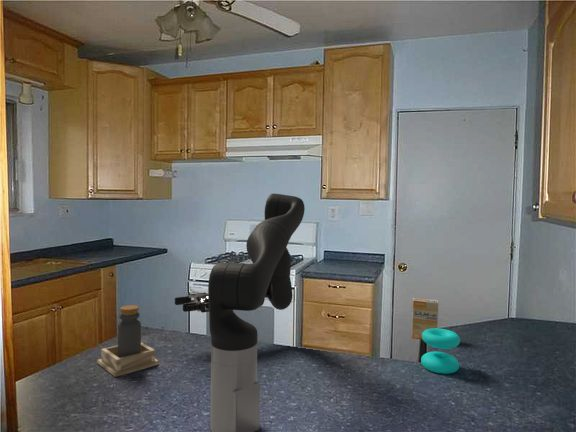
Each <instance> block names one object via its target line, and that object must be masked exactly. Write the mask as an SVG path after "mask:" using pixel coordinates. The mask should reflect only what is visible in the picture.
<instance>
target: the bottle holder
mask: <svg viewBox="0 0 576 432" xmlns="http://www.w3.org/2000/svg"><path fill="white" fill-rule="evenodd" d="M100 355H101V357H100V358H99V359H97V364H98V365H99V366H101V368H103V369H104V370H106V372H108V373H110V374H111V375H112V376H113V377H114V378H117V377H121V376H123V375H127V374H130V373H133V372H139V371H141V370H144V369H147V368H148V369H149V368H151V367H154V366H158V365H160V362H159V361H160V360H158V359H156V349H154V348H152V347H150V346H149V345H147V344H146V343H144V342H142V341H141V352H140V353H136V354H132V355H129V356H125V357H121V358H119V357H118V344H117V345H112V346H109V347H104V348H101V349H100Z"/></svg>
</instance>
